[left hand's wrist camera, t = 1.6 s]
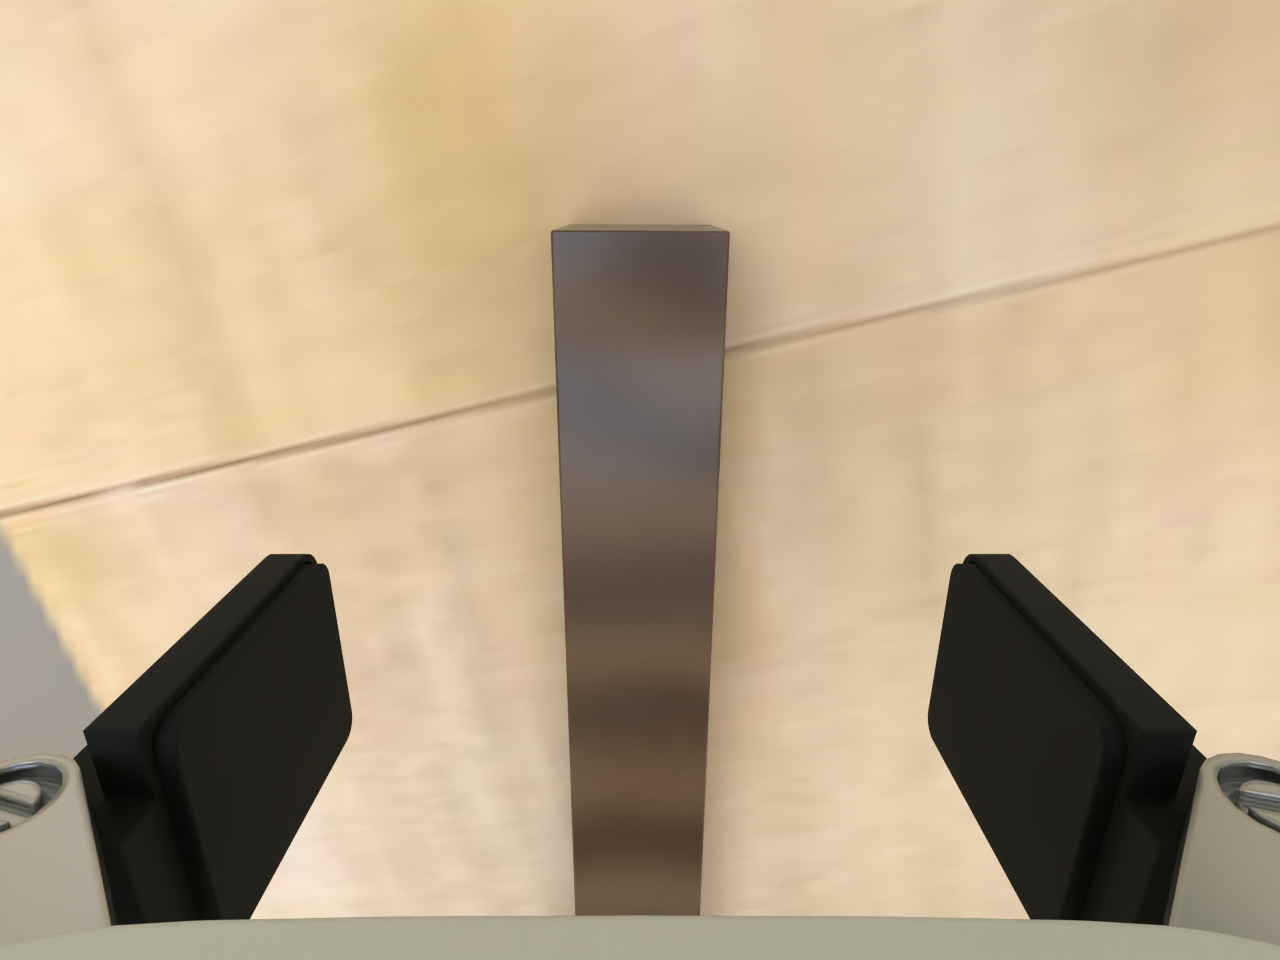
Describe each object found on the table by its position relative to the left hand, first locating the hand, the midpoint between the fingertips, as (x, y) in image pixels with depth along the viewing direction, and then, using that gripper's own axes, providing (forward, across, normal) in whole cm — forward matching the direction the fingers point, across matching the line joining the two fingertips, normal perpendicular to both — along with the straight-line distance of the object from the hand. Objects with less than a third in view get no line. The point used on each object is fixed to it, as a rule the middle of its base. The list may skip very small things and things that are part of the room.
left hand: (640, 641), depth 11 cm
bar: (+22, 0, -20) cm, 30 cm away
